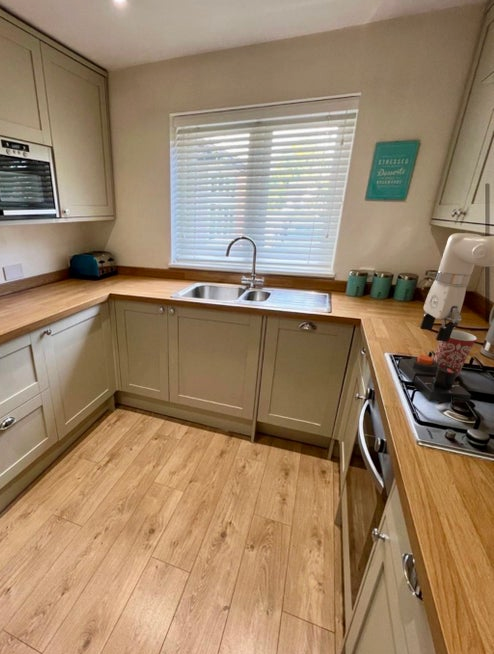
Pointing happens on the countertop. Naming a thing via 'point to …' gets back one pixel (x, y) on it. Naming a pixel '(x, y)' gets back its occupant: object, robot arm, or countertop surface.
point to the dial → (445, 377)
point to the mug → (454, 350)
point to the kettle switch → (425, 360)
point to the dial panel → (439, 390)
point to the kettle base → (417, 368)
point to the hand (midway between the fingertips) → (433, 334)
